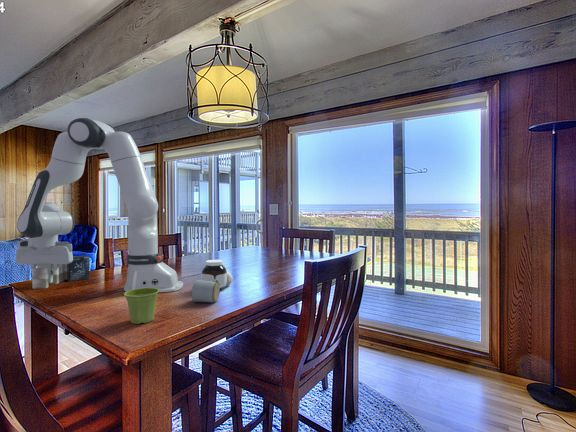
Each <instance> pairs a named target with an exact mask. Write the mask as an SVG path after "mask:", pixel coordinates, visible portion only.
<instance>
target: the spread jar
mask: <svg viewBox="0 0 576 432" xmlns="http://www.w3.org/2000/svg"><path fill="white" fill-rule="evenodd" d="M200 278H201V279H200V280H204V281H213V282H217V283H218V284H219V286H220V292H222V291H223V289H225V288H226V287H229V286H230V285H232V283H233V282H234V277H233V275H232V273H231V272H229V271H228V270H227V268H226V267H225V266H224V260H221V259H209V260H206V261H205V265H204V268H202V271H201V277H200Z"/></svg>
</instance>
